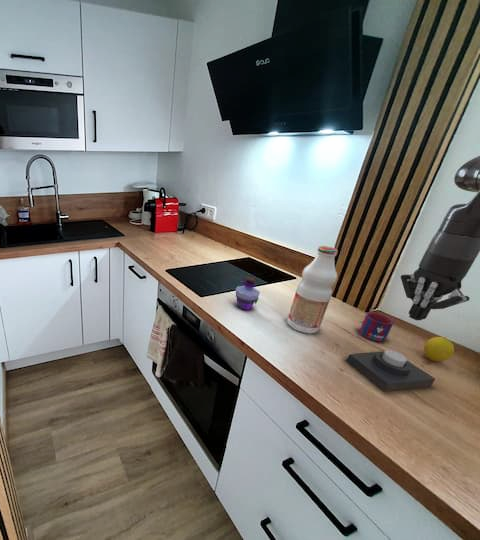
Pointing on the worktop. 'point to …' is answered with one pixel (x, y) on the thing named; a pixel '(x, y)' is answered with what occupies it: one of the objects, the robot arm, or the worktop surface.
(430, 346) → the lemon
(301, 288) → the fruit juice
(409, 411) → the worktop surface
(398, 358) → the flush button
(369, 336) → the mug
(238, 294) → the potion bottle
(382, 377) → the flush plate
